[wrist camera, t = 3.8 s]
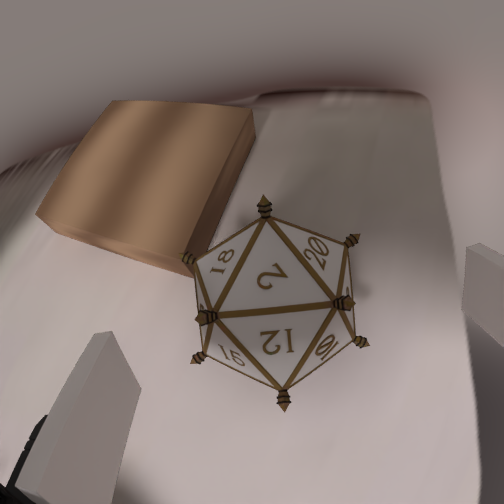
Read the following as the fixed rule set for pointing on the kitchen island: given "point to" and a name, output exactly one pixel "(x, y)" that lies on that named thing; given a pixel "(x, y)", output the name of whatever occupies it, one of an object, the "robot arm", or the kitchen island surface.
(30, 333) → the kitchen island surface
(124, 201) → the pedestal
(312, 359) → the game die
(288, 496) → the kitchen island surface
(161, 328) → the kitchen island surface
